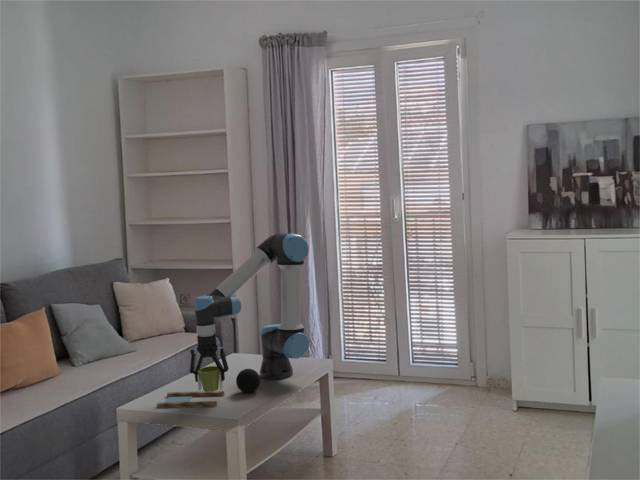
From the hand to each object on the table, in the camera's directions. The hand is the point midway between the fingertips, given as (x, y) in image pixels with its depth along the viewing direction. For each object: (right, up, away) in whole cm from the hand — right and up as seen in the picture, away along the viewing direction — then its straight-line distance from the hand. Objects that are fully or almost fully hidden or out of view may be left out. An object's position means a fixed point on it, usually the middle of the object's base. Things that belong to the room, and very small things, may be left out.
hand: (210, 388), depth 300 cm
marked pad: (-14, -5, +1) cm, 15 cm away
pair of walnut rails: (-8, -5, +1) cm, 10 cm away
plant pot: (0, -1, 0) cm, 1 cm away
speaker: (+15, -3, +9) cm, 18 cm away
